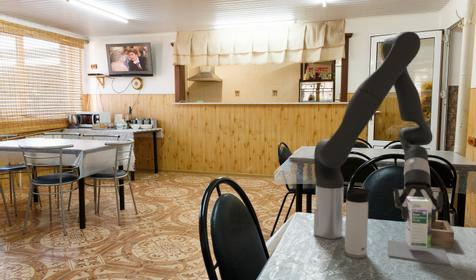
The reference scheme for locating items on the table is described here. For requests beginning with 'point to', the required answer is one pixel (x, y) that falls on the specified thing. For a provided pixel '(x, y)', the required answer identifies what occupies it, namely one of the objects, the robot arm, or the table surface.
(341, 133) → the robot arm
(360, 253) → the travel mug
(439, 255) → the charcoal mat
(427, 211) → the syrup box
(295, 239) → the table surface
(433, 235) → the walnut holder
